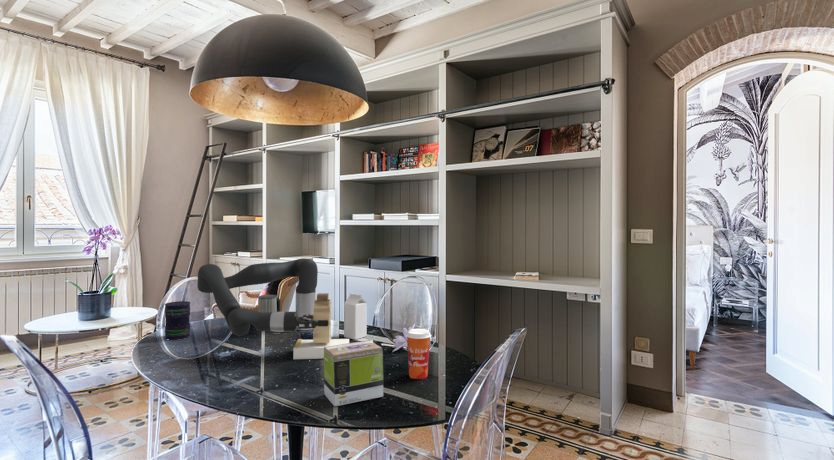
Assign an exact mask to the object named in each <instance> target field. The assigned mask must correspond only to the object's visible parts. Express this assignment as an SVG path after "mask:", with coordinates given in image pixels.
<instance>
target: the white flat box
mask: <svg viewBox="0 0 834 460" xmlns="http://www.w3.org/2000/svg"><path fill="white" fill-rule="evenodd" d="M347 343H350V338H331V339H330V342H329V343H313V339H302V338H298V339H297V340H296V343H295V344H294V346H293V354H292V355H293V359H292V360H313V359H314V360H316V359H323V360H324V347H327V346H334V345H341V344H347Z"/></svg>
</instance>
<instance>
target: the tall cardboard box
mask: <svg viewBox="0 0 834 460" xmlns="http://www.w3.org/2000/svg"><path fill="white" fill-rule="evenodd" d="M314 320H328V326H318V327H315V328H313V329H312V330H313V331H312V333H313V334H312V335H313V336H312V340H313V343H329V342H330V339H332V338H331V336H332V335H331V334H332V333H331V331H332V327H331V326H332V299H329V298H328V302H317V298H315V301H314Z"/></svg>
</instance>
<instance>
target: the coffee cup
mask: <svg viewBox="0 0 834 460" xmlns="http://www.w3.org/2000/svg"><path fill="white" fill-rule="evenodd" d="M407 331H408V330H407ZM406 336H407V343H406V345H407V356H408V357H407V361H408V376H409V378H410V379H413V380H425V379H427V378H428V372H429V356H430V341H431V340H430V339H431V337H432V334H431V332H430V330H428V329H425V328H414V329H411V330H409V331H408V333H407V334H406Z"/></svg>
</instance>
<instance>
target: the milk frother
mask: <svg viewBox="0 0 834 460" xmlns="http://www.w3.org/2000/svg"><path fill="white" fill-rule="evenodd" d="M281 303H282V302H281V299H280V298H279V297H278V295H276V294H263V295H258V296H257V311H258V312H281Z"/></svg>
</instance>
